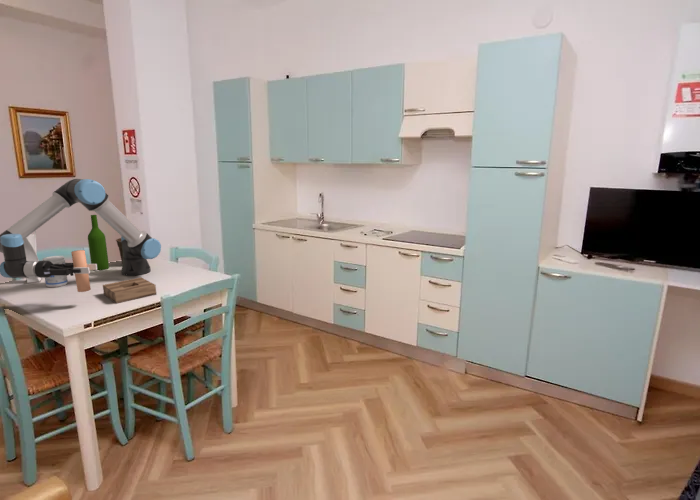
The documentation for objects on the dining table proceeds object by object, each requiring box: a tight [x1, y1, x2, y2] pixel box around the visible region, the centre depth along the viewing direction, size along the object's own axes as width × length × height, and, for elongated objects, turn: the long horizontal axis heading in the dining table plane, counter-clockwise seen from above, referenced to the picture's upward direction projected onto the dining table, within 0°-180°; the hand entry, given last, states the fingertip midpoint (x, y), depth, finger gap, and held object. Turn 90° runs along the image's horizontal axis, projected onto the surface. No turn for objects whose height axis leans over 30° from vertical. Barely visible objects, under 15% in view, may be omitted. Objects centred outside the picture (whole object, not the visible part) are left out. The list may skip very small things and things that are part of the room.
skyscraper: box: [23, 230, 43, 285], centre depth 220 cm, size 8×8×28 cm
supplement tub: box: [42, 255, 69, 288], centre depth 216 cm, size 10×10×15 cm
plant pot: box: [115, 237, 124, 266], centre depth 259 cm, size 16×16×16 cm
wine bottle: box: [87, 214, 110, 271], centre depth 246 cm, size 9×9×32 cm
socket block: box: [102, 277, 157, 304], centre depth 202 cm, size 18×18×5 cm
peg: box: [70, 249, 91, 293], centre depth 184 cm, size 5×5×18 cm
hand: (92, 268), depth 184 cm, fingers closed on peg, 5 cm apart
